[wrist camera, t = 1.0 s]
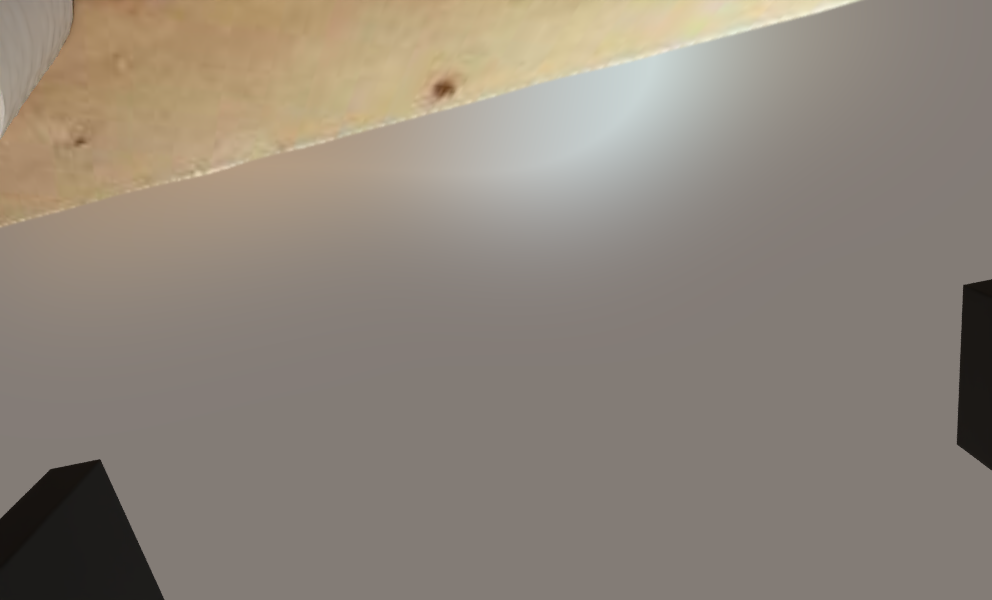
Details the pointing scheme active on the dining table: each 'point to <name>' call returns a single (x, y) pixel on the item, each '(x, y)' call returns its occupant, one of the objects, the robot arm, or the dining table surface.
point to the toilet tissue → (28, 48)
